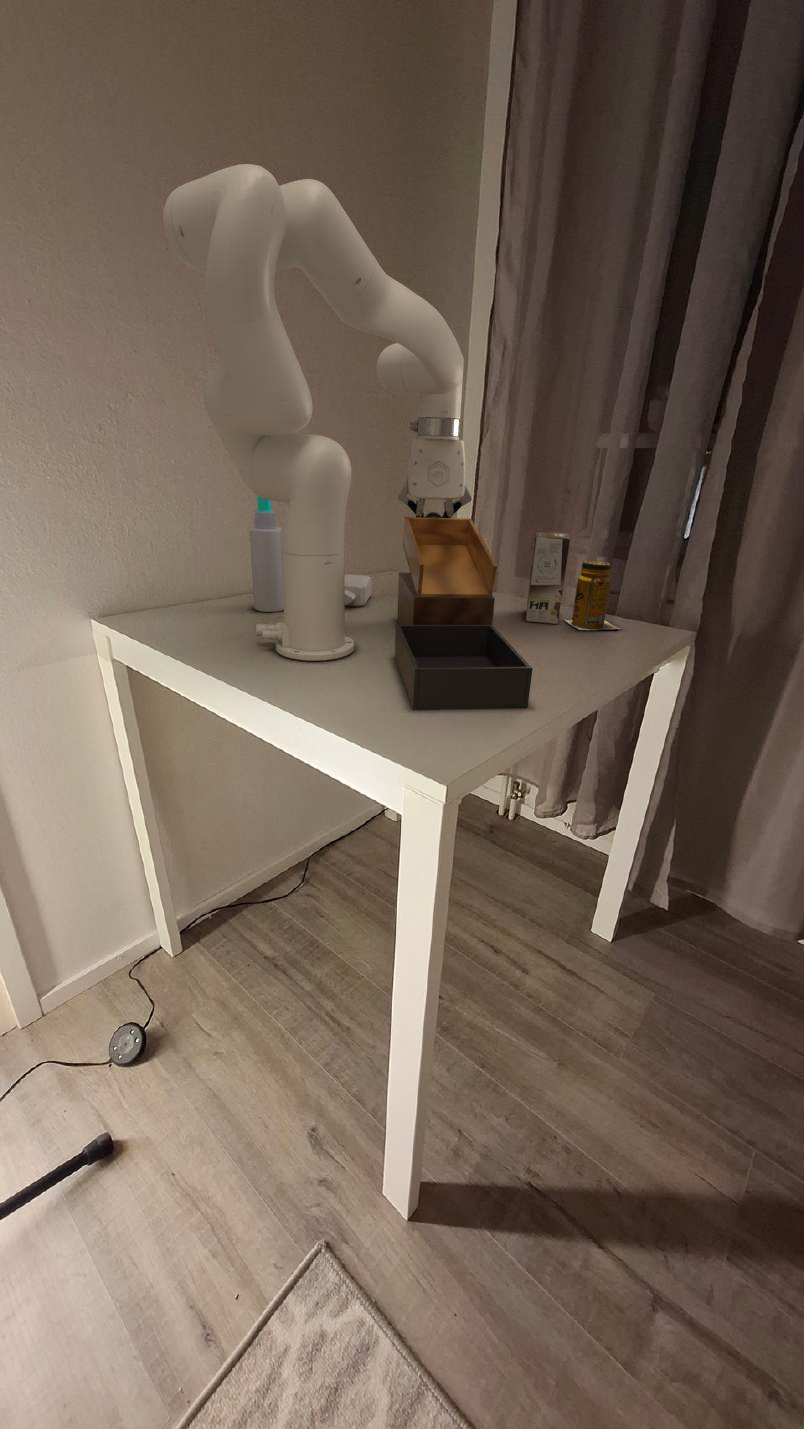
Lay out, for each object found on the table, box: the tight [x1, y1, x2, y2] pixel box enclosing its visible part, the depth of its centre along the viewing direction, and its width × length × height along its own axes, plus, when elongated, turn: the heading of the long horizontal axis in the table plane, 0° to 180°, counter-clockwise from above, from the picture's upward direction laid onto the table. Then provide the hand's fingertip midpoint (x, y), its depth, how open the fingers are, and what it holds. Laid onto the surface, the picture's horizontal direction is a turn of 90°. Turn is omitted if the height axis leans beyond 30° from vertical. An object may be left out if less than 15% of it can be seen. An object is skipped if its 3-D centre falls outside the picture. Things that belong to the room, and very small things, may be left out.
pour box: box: [402, 511, 498, 598], centre depth 105 cm, size 12×26×5 cm, turn 7°
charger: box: [345, 573, 372, 607], centre depth 127 cm, size 5×9×15 cm
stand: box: [396, 572, 496, 625], centre depth 108 cm, size 13×20×9 cm, turn 7°
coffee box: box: [525, 531, 571, 625], centre depth 120 cm, size 9×6×16 cm
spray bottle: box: [248, 495, 284, 613], centre depth 117 cm, size 6×6×22 cm
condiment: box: [564, 560, 621, 631], centre depth 117 cm, size 7×8×12 cm
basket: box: [394, 624, 534, 711], centre depth 87 cm, size 15×20×6 cm
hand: (432, 537), depth 115 cm, fingers closed on pour box, 3 cm apart
